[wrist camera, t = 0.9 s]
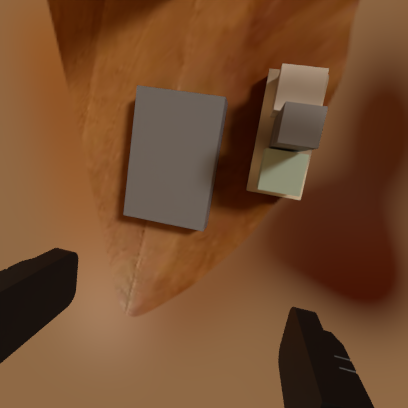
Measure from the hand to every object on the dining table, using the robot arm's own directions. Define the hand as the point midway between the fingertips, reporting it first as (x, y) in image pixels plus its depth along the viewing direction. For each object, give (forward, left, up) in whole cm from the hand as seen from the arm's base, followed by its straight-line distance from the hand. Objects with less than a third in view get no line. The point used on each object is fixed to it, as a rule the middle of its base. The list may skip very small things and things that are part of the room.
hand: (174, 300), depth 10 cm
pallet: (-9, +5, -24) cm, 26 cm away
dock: (-4, -7, -24) cm, 25 cm away
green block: (-5, +5, -22) cm, 23 cm away
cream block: (-12, +5, -22) cm, 25 cm away
